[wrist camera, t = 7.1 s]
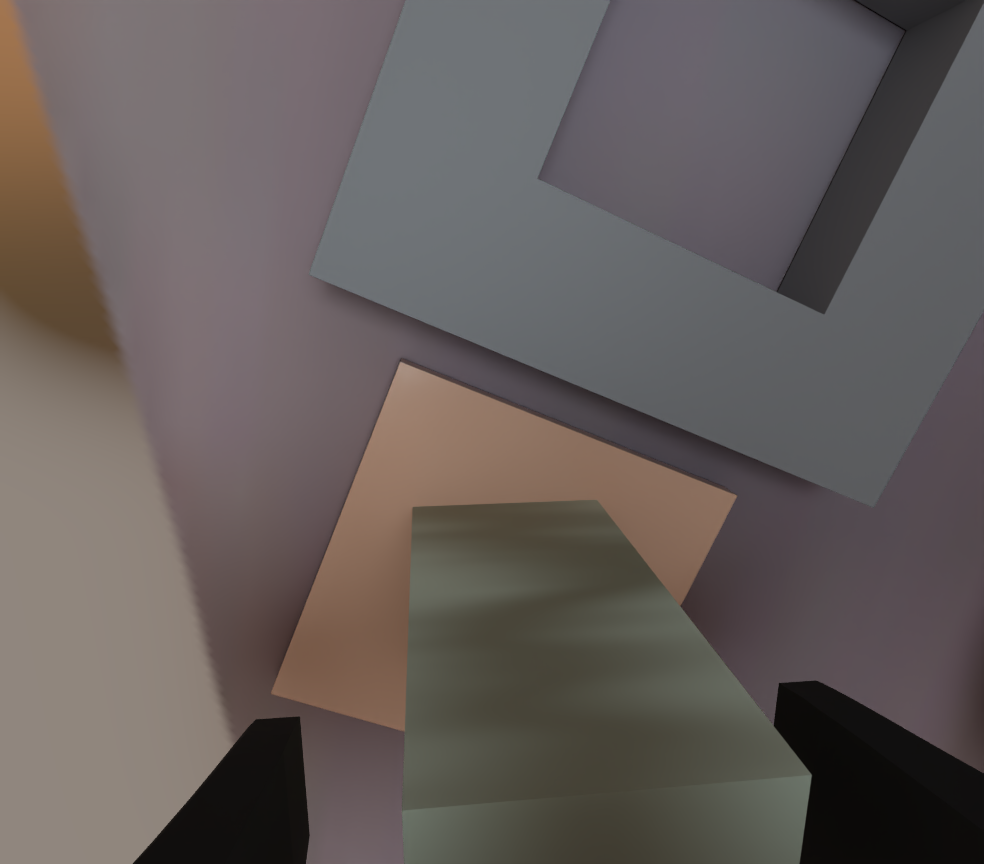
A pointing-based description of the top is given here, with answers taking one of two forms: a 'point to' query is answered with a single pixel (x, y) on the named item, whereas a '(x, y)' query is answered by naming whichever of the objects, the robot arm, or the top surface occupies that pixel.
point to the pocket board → (664, 265)
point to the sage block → (575, 706)
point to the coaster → (465, 481)
